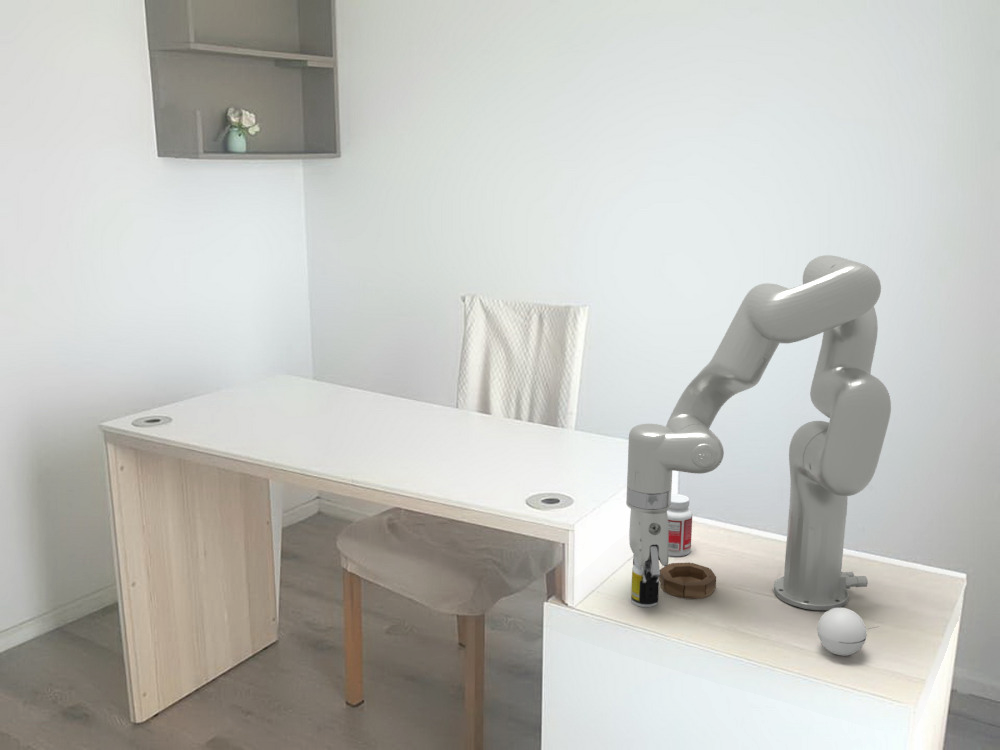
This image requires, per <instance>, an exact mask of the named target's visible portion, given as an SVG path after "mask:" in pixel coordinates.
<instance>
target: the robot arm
mask: <svg viewBox="0 0 1000 750" xmlns="http://www.w3.org/2000/svg"><path fill="white" fill-rule="evenodd" d="M881 292H882V285H881V280H880V278H879V276H878V274H877V273H876V271H875V270H874V269H872V268H871V267H870V266H868V265H866V264H863V263H861V262H857V261H854V260H851V259H848V258H844V257H841V256H836V255H831V254H830V255H829V254H828V255H820V256H817V257H815V258H813V259H811V260H810V261H809V262H808V263H807V264H806V267H805V268H804V270H803V274H802V284H801V285H798V286H794V287H791V288H788V287H785V286H782V285H779V284H777V283H776V284H775V283H768V282H767V283H759V284H758V285H755V286H754V287H752V288H751V289H750V290H749V291H748V292H747V294H746V295H745V296H744V298H743V299H742V302H741V303H740V306H739V307H738V309H737V311H736V313H735V314H734V317H733V318H732V320H731V323H730V324H729V326H728V328H727V330H726V332H725V334H724V336H723V338H722V339H721V342H720V343H719V344H718V347H717V350H715V352H714V354H713V356H712V358H711V359H710V361H709V362H708V363H707V364H706V366H704V367H703V368H702V369H701V370H700V372H698V374H697V375H696V376H695V377H694V378H693V379H692V380H691V381H690V383H688V384H687V386H686V388H685V389H684V390H683V391H682V394H680V397H679V399H678V400H677V402H676V404H675V406H674V408H673V410H672V411H671V414H670V416H669V418H668V420H667V422H666V425H664V424H663V425H662V424H658V423H641V424H638V425H635V426H633V427H632V428H631V429H630V431H629V434H628V447H627V449H628V450H627V475H626V479H627V480H626V506H627V507H628V508H629V509H630V515H629V516H630V517H629V535H628V536H629V538H628V539H629V548H630V550H631V552H632V553H633V557H632V565H633V566H634V565H635V558H636V559H637V561H638V563H639V564H640V565H641V566H642V581H640V591H639V601H640V603H657V602H658V603H659V591H660V590H659V589H660V588H659V587H660V582H659V576H660V569H661V568H660V564H661V566H662V567H665V566H667V565H668V564H669V536H668V516H667V510H668V509H669V508H670V507H671V494H672V484H673V472H674V471H676V472H681V473H688V474H697V475H699V474H707V473H709V472H712V471H714V470H716V469H718V467H719V466H720V465H721V463H722V461H723V459H724V454H725V451H724V446H723V444H722V442H721V440H720V438H718V436H717V435H716V434H715V433H714V432H713V431H712V430H711V429H710V428H711V427H712V424H713V422H714V420H715V418H716V416H717V414H718V413H719V412H720V410H721V408H722V407H723V406H724V405H725V403H727V401H728V400H730V399H731V398H732V397H734V396H735V395H737V394H739V393H741V392H744V391H747V390H749V389H751V388H754V387H755V386H756V385H758V384H759V382H760V380H761V378H762V377H763V375H764V373H765V371H766V369H767V368H768V365H769V363H770V361H771V360H772V357H773V356H774V354H775V352H776V350H777V349H778V346H779V345H780V344H793V343H797V342H801V341H804V340H806V339H809V338H812V337H815V336H817V335H820V334H822V333H823V334H822V340H821V346H820V350H819V353H818V358H817V361H816V366H815V370H814V373H813V379H812V382H811V386H810V391H809V395H810V401H811V403H812V404H813V407H815V409H817V410H818V411H819V412H820V413H821V414H822V415H824V416H825V417H826V418H828V419H829V421H823V420H812V421H808V422H806V423H803V424H802V425H800V427H798V429H796V431H795V432H794V434H793V436H792V437H791V440H790V443H789V451H788V462H789V463H788V464H789V474H790V494H789V506H788V507H789V508H788V519H787V531H786V546H785V556H784V557H785V558H784V559H785V560H784V573H783V576H781V577H779V578H777V580H775V582H774V584H773V591H774V594H775V595H776V596H777V597H778V599H780V600H781V601H783V602H784V603H787V604H789V605H791V606H793V607H796V608H801V609H805V610H811V611H829V610H830V609H833V608H843V607H845V605H846V604H847V603H848V601H849V592H848V590H850V589H851V588H866V587H868V578H867V576H866V575H855V574H854V572H853V571H844V572H842V569H843V568H842V567H843V566H842V565H843V556H844V555H843V554H844V545H845V532H846V522H847V515H848V497H851V496H854V495H856V494H858V493H860V492H862V491H864V490H865V488H866V487H867V486H869V484H870V482H871V481H872V480H873V478H874V475H875V473H876V471H877V467H878V463H879V460H880V456H881V452H882V450H883V446H884V442H885V438H886V434H887V430H888V426H889V422H890V417H891V411H892V402H891V396H890V393H889V391H888V389H887V387H886V386H885V384H884V383H883V382H882V381H881V380H880V379H879V378H877V377H876V376H875V375H872V374H871V371H872V364H873V360H874V357H875V355H874V354H875V350H876V345H877V341H878V340H877V339H878V318H877V312H876V309H875V306H876V305H877V303H878V301H879V298H880V296H881ZM645 561H650V564H646V563H645ZM633 566H632V567H633ZM646 568H651V570H650V572H647V574H646ZM658 603H657V604H658Z"/></svg>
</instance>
